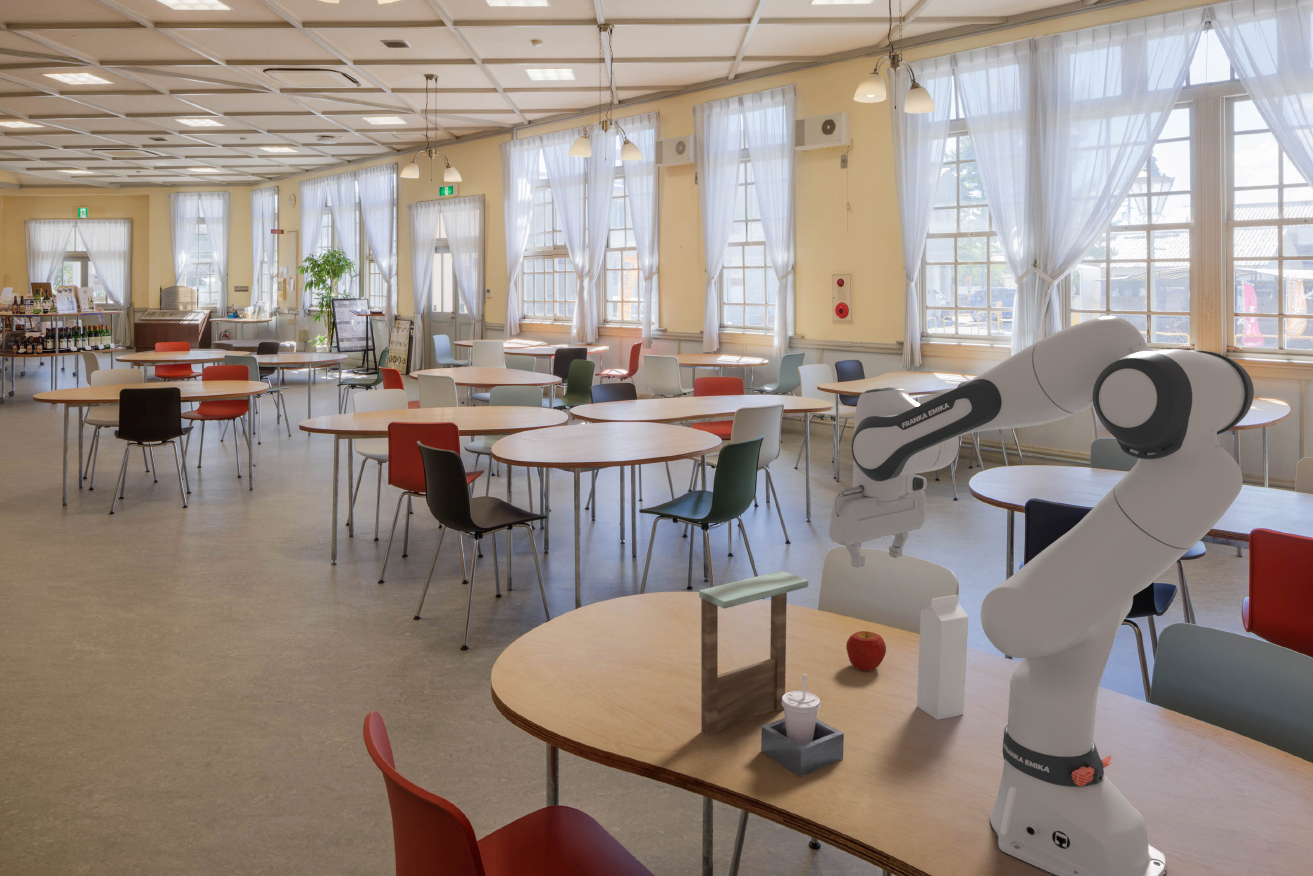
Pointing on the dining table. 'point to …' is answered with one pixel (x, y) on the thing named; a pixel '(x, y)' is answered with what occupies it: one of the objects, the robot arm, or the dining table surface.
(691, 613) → the dining table surface
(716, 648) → the green-topped frame
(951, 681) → the milk
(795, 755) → the socket
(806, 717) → the smoothie
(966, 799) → the dining table surface
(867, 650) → the apple
